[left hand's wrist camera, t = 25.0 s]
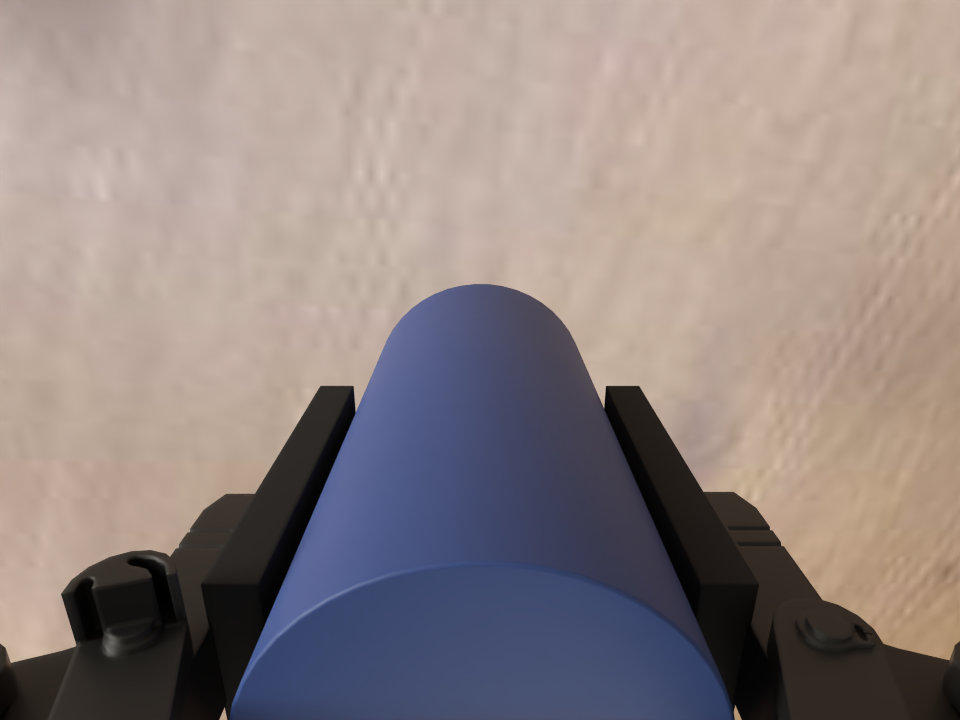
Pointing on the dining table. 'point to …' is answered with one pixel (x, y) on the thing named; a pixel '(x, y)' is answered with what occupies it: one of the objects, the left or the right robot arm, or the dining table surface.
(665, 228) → the dining table surface
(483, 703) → the canister
